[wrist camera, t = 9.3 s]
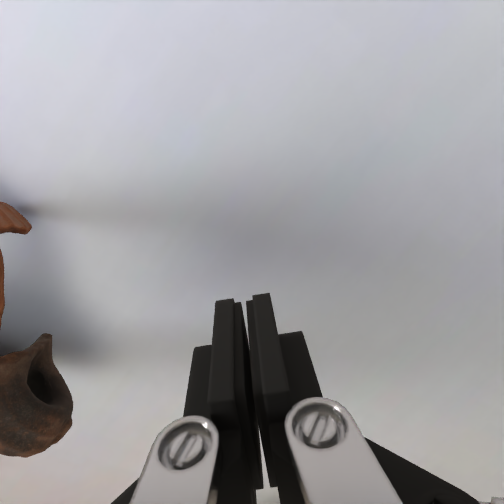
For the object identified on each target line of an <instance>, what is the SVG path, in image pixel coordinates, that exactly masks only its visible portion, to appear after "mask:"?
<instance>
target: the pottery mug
mask: <svg viewBox="0 0 504 504" xmlns="http://www.w3.org/2000/svg"><path fill="white" fill-rule="evenodd" d="M31 228H32V226H31V224H30V223H29V222H28V221H27V220H26V219H25V218H24V217H23V216H22V215H21V214H20V213H19V212H18V211H16V210H15V209H14V208H13V207H12V206H10V205H8V204H7V203H4V202H0V234H2V233H5V232H12V233H19V234H27V233H28V232H29V231H30V230H31ZM4 306H5V298H4V263H3V256H2V252H1V249H0V328H1V318H2V314H3V310H4ZM72 411H73V401H72V396H71V393H70V391H69V389H68V387H67V385H66V383H65V381H64V379H63V378H62V376H61V374H60V373H59V371H58V370H57V368H56V367H55V365H54V363H53V359H52V335H51V334H48V333H45V334H42V335H41V336H40V337H39V338H38V339H37V340H36V342H35V343H34V344H32V345H31V346H30V347H28V348H27V349H25V350H23V351H18V352H12V353H9V354H7V355H4V356H1V357H0V454H2V455H6V456H21V457H25V458H26V457H29V456H32V455H35V454H37V453H41V452H43V451H45V450H46V449H47V448H49V447H50V446H51V445H53V444H55V443H57V442H58V441H59V440H60V439H61V438H62V437H63V436H64V435H65V434H66V433H67V431H68V430H69V429H70V427H71V426H72V418H71V415H72Z"/></svg>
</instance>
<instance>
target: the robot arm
mask: <svg viewBox="0 0 504 504" xmlns="http://www.w3.org/2000/svg"><path fill="white" fill-rule="evenodd" d="M252 297H253V300H250V301H246V306H247V320H248V334H249V344H248V338H247V333H246V327H245V321H244V316H243V310H242V305H241V302H237V303H235V302H234V299H233V298H232V299H226V300H219V301H216V303H215V314H214V326H213V338H212V345H206V346H200V347H195V348H194V351H193V357H192V364H191V370H190V376H189V383H188V389H187V395H186V402H185V408H184V415H183V417H182V418H180V419H177V420H175V421H173V422H172V423H170V424H169V425H167V426H166V427H165V428H164V429H163V430H162V431H161V432H160V433H159V434H158V435H157V437H156V439H155V441H154V443H153V445H152V447H151V450H150V452H149V455H148V457H147V460H146V462H145V465H144V468H143V470H142V473H141V475H140V477H139V478H138V479H137V480H136V481H135V482H134V483H133V484H132V485H131V486H130V487H128V488H127V489H126V490H125V491H124V492H123V493H122V494H121V495H120V496H119V497H118V498H117V499H115V500H114V501H113V502H112V503H111V504H257V503H256V490H258V489H263V474H262V462H261V450H260V438H259V430H260V435H261V441H262V446H263V451H264V457H265V462H266V467H267V473H268V478H269V483H270V488H271V487H278V492H279V498H280V503H281V504H504V498H498V497H492V498H491V503H489V502H479V501H477V500H476V499H474V498H473V497H471V496H470V495H468V494H467V493H466V492H464V491H462V490H461V489H459V488H457V487H455V486H453V485H451V484H450V483H448V482H446V481H444V480H442V479H440V478H439V477H437V476H435V475H433V474H431V473H429V472H428V471H426V470H424V469H422V468H420V467H418V466H416V465H415V464H413V463H411V462H409V461H407V460H405V459H404V458H402V457H400V456H398V455H396V454H394V453H393V452H391V451H389V450H387V449H385V448H383V447H382V446H380V445H378V444H376V443H374V442H372V441H371V440H369V439H367V438H365V437H364V436H363V435H362V433H361V431H360V429H359V428H358V426H357V424H356V423H355V421H354V419H353V417H352V416H351V414H350V413H349V412H348V411H347V409H346V408H345V407H344V406H342V405H341V404H339V403H338V402H337V401H334V400H331V399H328V398H323V396H322V393H321V390H320V387H319V383H318V380H317V377H316V374H315V371H314V367H313V364H312V361H311V358H310V355H309V351H308V348H307V345H306V342H305V339H304V335H303V333H302V331H298V332H292V333H285V334H279V335H278V332H277V327H276V322H275V317H274V312H273V307H272V302H271V297H270V293H265V294H259V295H252ZM249 347H250V349H249ZM258 425H259V426H258Z"/></svg>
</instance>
